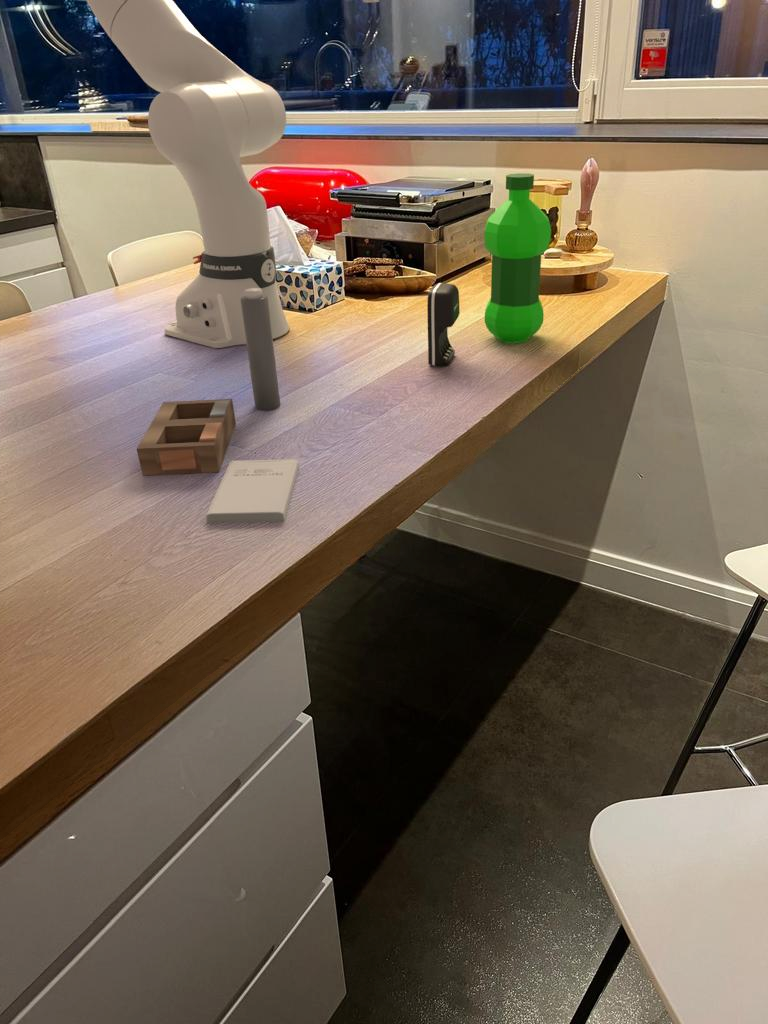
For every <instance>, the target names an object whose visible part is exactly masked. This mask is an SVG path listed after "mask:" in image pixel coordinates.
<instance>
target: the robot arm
mask: <svg viewBox="0 0 768 1024" xmlns="http://www.w3.org/2000/svg"><path fill="white" fill-rule="evenodd" d="M401 1H402V2H412V1H416V0H401ZM362 2H363V3H364V4H365V3H379V2H380V0H362ZM86 3H87V4H88V6H89V7H90V10H91V11H92V13H93V15H94V17H95V18H96V19H97V21H98V22H99V24H100V26H101V27H102V28H103V30H104V31H105V33H106V35H107V36H108V37H109V38H110V40H111V41H112V43H113V44H114V45H115V46H116V47H117V49H118V50H119V51H120V52H121V54H122V55H123V56H124V57H125V59H126V60H127V62H128V63H129V64H130V65H131V67H132V68H133V69H134V70H135V72H136V73H137V74H138V76H140V78H141V79H142V81H143V82H144V83H145V84H146V85H147V86H149V87H150V88H152V89H153V90H155V91H157V92H158V94H157V95H156V96H155V97H154V98H153V99H152V101H151V103H150V106H149V108H148V109H149V110H148V115H147V116H148V117H147V123H148V124H147V125H148V130H149V131H148V132H149V134H150V137H151V140H152V142H153V143H154V146H155V148H156V149H157V150H158V152H159V153H160V154H161V155H162V157H164V158H165V159H166V160H168V161H169V162H170V163H172V164H173V166H175V167H176V169H177V170H178V172H179V173H180V174H181V176H182V177H183V179H184V180H185V182H186V184H187V186H188V188H189V190H190V193H191V194H192V197H193V200H194V203H195V206H196V211H197V215H198V221H199V227H200V230H201V231H200V232H201V238H202V244H203V249H204V251H203V252H202V253H201V254H198V255H195V256H193V257H192V259H197V260H195V261H193V262H192V263H193V265H196V264H199V263H200V265H199V274H198V275H197V276H196V277H195V279H193V280H192V282H190V283H189V284H188V285H187V287H185V289H183V290H182V291H181V292H180V293H179V295H178V296H177V298H176V301H175V318H176V319H175V320H173V321H172V322H170V323H169V324H167V325H166V326H165V327H164V334H165V335H167V336H170V337H174V338H178V339H181V340H185V341H188V342H192V343H195V344H198V345H202V346H206V347H210V348H213V349H221V348H222V349H223V348H228V347H232V346H237V345H247V343H246V336H245V329H244V321H243V314H242V306H241V298H242V297H244V296H245V290H246V289H250V288H260V289H262V295H266V296H268V304H269V312H270V321H271V329H272V338H273V340H275V339H277V338H280V337H282V336H283V335H285V334H287V333H288V331H289V330H290V326H289V323H288V321H287V319H286V318H287V317H286V316H285V313H284V310H283V306H282V302H281V299H280V294H279V291H278V284H277V280H276V278H277V266H276V265H277V264H276V263H277V262H276V258H275V249H274V247H273V246H272V245H271V236H270V226H269V219H268V211H267V210H268V209H267V203H266V199H265V197H264V195H263V194H262V193H261V192H260V191H259V190H257V189H256V188H254V187H253V186H252V185H251V183H250V182H249V179H248V177H246V174H245V171H244V168H243V166H242V162H241V158H243V157H248V156H253V155H258V154H260V153H262V152H264V151H266V150H268V149H270V148H271V147H272V146H274V145H275V144H277V143H278V142H279V141H280V140H281V139H282V137H283V135H284V133H285V130H286V125H287V113H286V107H285V104H284V102H283V99H282V98H281V97H282V96H280V94H279V93H278V91H276V89H274V87H272V86H271V85H270V84H267V83H264V82H263V81H260V80H259V79H256V78H255V77H253V76H252V75H250V74H249V73H247V72H246V71H244V70H243V69H242V68H240V67H239V66H238V65H237V64H236V63H235V62H233V61H232V60H231V59H229V58H228V57H227V56H226V55H225V54H223V53H222V52H221V51H220V50H218V49H217V48H216V47H215V46H214V45H213V44H211V42H209V41H208V40H207V39H206V38H205V37H204V36H202V34H201V33H200V32H199V31H198V29H196V27H194V25H193V24H192V23H191V21H189V19H188V18H187V16H185V14H184V12H182V10H181V9H180V8H179V7H178V5H177V4H176V2H175V1H174V0H86Z"/></svg>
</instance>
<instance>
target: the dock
mask: <svg viewBox="0 0 768 1024" xmlns="http://www.w3.org/2000/svg"><path fill="white" fill-rule="evenodd" d="M236 421H237V420H236V416H235V410H234V402H233V398H220V399H217V398H216V399H200V400H177V401H163V402H162V403H161V406H160V407H159V409H158V411H157V412H156V414H155V416H154V418H153V419H152V421H151V423H150V425H149V427H148V428H147V430H146V432H145V433H144V435H143V437H142V439H141V440H140V442H139V444H138V445H137V447H136V451H137V456H138V461H139V466H140V470H141V474H142V475H141V476H144V477H145V476H164V475H165V476H166V475H182V474H183V475H186V474H203V473H220V471H221V468H222V465H223V462H224V458H225V456H226V453H227V450H228V447H229V444H230V442H231V438H232V435H233V432H234V430H235V427H236V424H237V422H236Z"/></svg>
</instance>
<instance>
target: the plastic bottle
mask: <svg viewBox="0 0 768 1024" xmlns="http://www.w3.org/2000/svg"><path fill="white" fill-rule="evenodd" d="M534 181H535V175H534V174H533V173H527V172H526V173H522V172H521V173H520V172H518V173H509V174H506V175H505V190H508V199H507V200H506V201H505V202H504V203H503V204H502V205H500V206H499V207H498V208H497V209H496V210H495V211H494V212H493V213H492V214H491V215H490V216H489V217H488V219H487V221H486V224H485V227H484V238H483V239H484V245H485V249H486V250H487V251H488V253H489V254H490V255H491V277H490V278H491V282H490V283H491V284H490V286H491V287H490V288H491V289H490V298H489V300H488V301H487V305H486V306H485V312H484V323H485V324H484V325H485V327H486V329H487V330H488V331H489V333H490V334H492V335H493V336H494V337H495V338H497V340H498V341H500V342H502V343H507V344H517V343H518V344H519V343H524V342H526V341H528V340H529V339H530V338H531V337H533V336H534V335H535V334H537V333H538V331H539V330H540V329H541V328H542V325H543V324H544V308H543V304H542V302H541V300H540V299H541V298H540V284H541V282H540V281H541V267H542V266H541V265H542V255H543V254H544V253H545V252H546V251H547V250H548V249H549V247H550V242H551V239H552V238H551V236H552V227H551V223H550V218H549V217H548V215H546V213H545V212H544V211H543V210H542V209H541V208H540V207H539V206H538V205H537V204H536V203H535V202H534V201H532V199H531V198H530V194H531V193H530V192H531V191H530V190H532V189H534V183H535V182H534Z"/></svg>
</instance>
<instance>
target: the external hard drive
mask: <svg viewBox="0 0 768 1024" xmlns="http://www.w3.org/2000/svg"><path fill="white" fill-rule="evenodd" d="M299 467H300V462H299V460H298V459H293V458H292V459H291V458H290V459H289V458H286V459H285V458H283V459H249V460H247V459H246V460H232V461H230V462H229V464H228V466H227V468H226V470H225V472H224V474H223V476H222V479H221V481H220V484H219V485H218V488H217V490H216V492H215V494H214V497H213V498H212V502H211V503H210V505H209V507H208V510H207V512H206V515H205V516H206V523H212V524H213V523H249V522H251V523H259V522H261V523H262V522H285V520H286V518H287V513H288V510H289V506H290V502H291V498H292V494H293V491H294V487H295V483H296V479H297V475H298V472H299Z"/></svg>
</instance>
